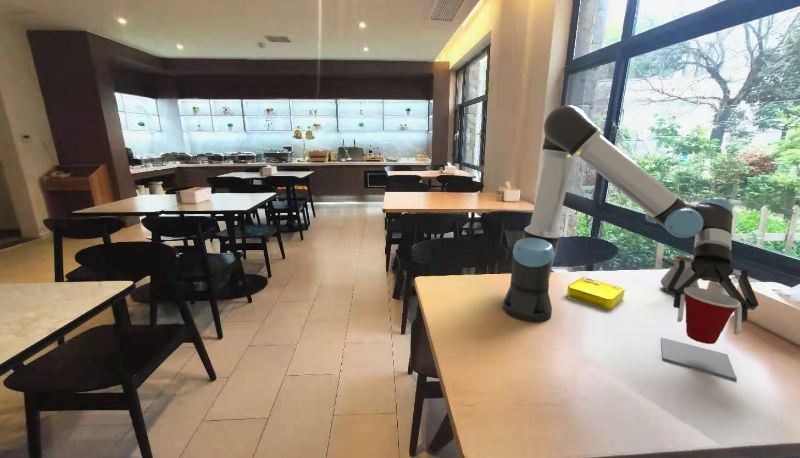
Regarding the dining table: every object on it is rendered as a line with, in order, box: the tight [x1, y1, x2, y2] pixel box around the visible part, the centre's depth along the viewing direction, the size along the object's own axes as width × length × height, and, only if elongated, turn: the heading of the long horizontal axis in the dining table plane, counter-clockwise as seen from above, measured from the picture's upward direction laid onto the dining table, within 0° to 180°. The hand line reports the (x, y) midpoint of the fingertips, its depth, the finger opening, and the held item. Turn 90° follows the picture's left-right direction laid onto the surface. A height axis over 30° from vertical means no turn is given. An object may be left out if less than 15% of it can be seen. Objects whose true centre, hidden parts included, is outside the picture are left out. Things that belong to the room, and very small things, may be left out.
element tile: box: [566, 276, 626, 310], centre depth 126 cm, size 15×15×5 cm
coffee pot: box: [657, 256, 700, 295], centre depth 129 cm, size 21×12×15 cm, turn 116°
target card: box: [660, 337, 737, 381], centre depth 90 cm, size 14×12×1 cm
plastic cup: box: [684, 287, 741, 345], centre depth 87 cm, size 11×11×12 cm
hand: (707, 326), depth 85 cm, fingers closed on plastic cup, 10 cm apart
